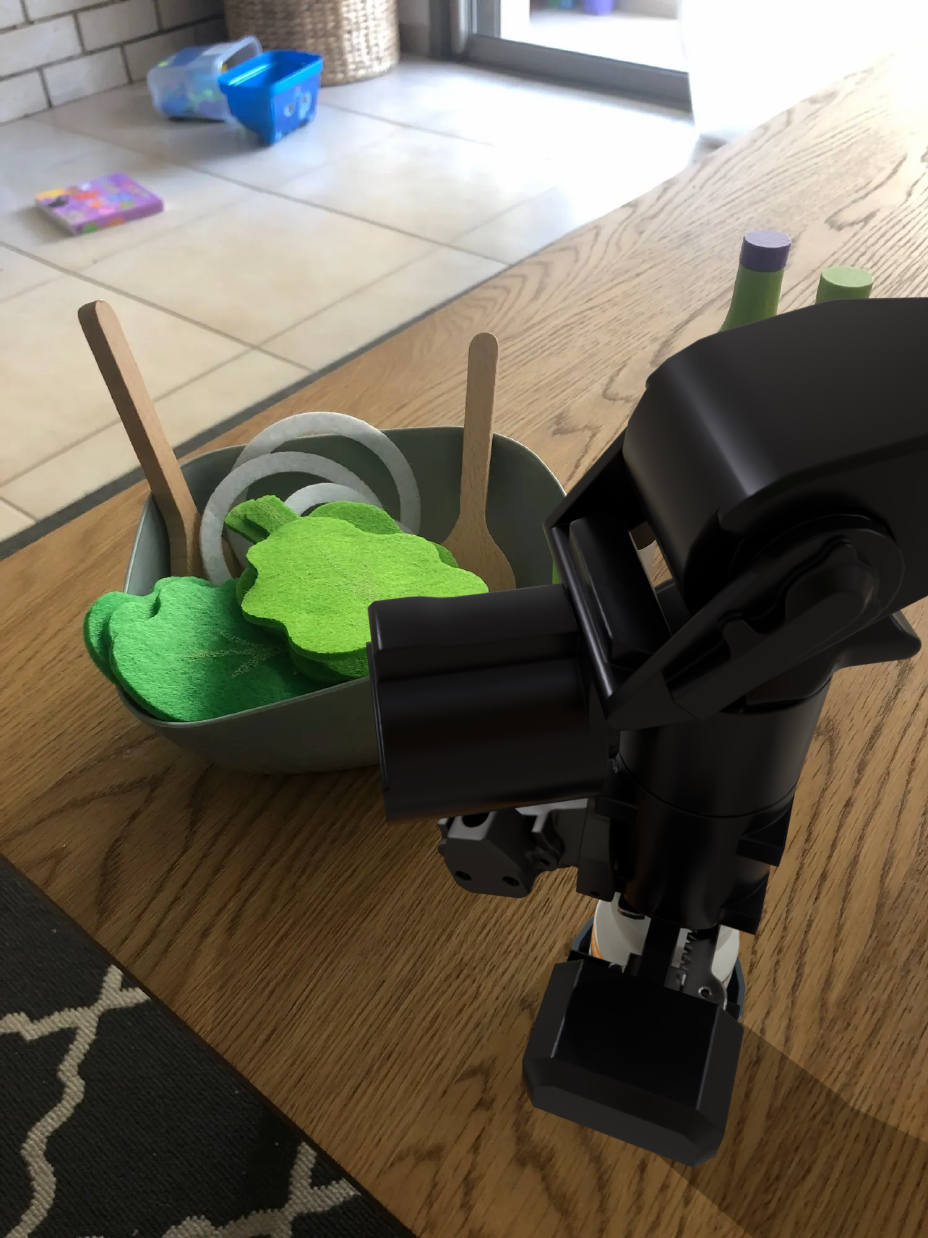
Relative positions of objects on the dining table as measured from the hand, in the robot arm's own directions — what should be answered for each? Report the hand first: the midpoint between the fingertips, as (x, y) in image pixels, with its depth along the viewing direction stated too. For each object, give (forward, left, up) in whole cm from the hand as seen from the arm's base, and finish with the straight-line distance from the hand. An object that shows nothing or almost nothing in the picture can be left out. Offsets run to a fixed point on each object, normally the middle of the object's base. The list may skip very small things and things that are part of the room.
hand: (657, 978), depth 42 cm
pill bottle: (0, 0, -3) cm, 3 cm away
